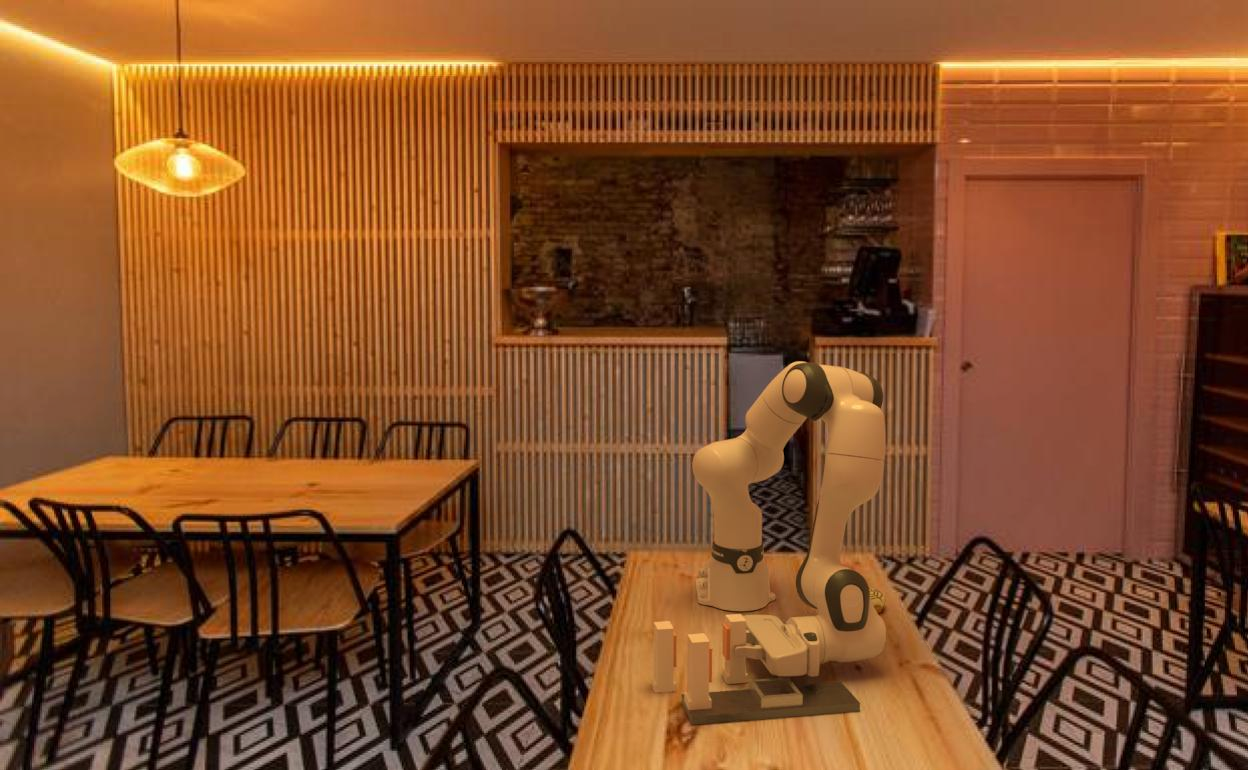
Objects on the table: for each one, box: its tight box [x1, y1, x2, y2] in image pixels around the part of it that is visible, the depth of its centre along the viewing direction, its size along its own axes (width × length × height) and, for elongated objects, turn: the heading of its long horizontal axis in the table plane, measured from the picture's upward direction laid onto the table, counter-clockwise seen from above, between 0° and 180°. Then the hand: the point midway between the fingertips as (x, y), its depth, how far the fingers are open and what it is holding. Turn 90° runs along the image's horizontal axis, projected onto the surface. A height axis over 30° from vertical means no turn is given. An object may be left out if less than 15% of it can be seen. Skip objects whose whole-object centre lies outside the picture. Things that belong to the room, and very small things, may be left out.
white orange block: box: [650, 620, 678, 694], centre depth 153 cm, size 4×4×12 cm
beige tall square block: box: [721, 613, 749, 685], centre depth 157 cm, size 4×4×12 cm
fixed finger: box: [683, 632, 713, 710], centre depth 144 cm, size 4×4×12 cm
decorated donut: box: [869, 586, 886, 614], centre depth 193 cm, size 11×12×4 cm
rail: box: [680, 676, 861, 726], centre depth 147 cm, size 8×30×4 cm, turn 99°
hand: (730, 645), depth 156 cm, fingers closed on beige tall square block, 3 cm apart
